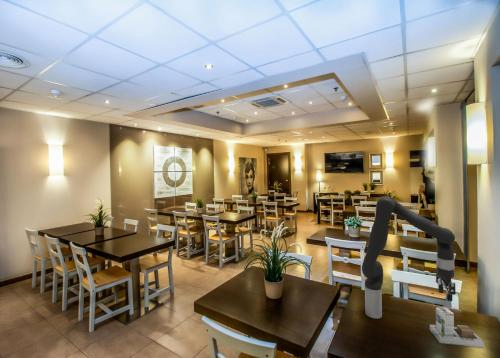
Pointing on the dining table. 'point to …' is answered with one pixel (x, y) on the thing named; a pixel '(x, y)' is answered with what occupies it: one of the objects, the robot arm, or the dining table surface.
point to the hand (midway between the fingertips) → (445, 296)
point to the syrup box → (444, 321)
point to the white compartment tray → (457, 338)
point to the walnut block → (465, 331)
